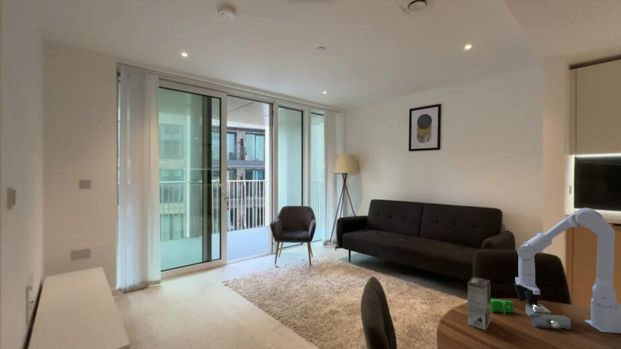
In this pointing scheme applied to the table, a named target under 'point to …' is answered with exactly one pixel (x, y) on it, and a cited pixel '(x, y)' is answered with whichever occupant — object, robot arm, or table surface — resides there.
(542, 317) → the end block
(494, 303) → the pipe clamp
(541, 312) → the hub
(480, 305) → the coffee box
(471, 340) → the table surface
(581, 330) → the table surface
